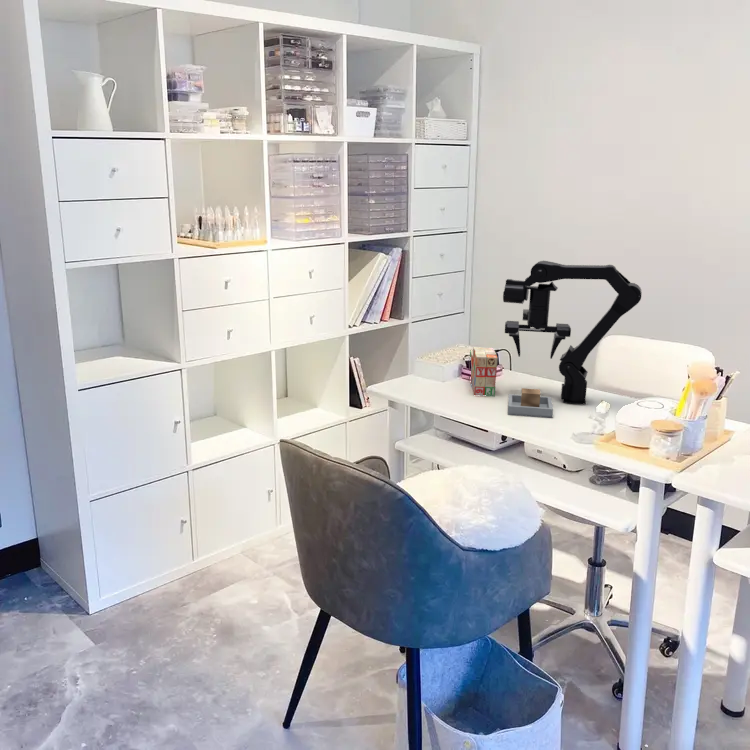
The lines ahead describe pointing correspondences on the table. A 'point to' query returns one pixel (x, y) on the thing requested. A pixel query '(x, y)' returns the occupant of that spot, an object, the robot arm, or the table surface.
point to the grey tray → (541, 411)
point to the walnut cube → (530, 397)
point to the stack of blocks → (483, 371)
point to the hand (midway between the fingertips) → (535, 357)
